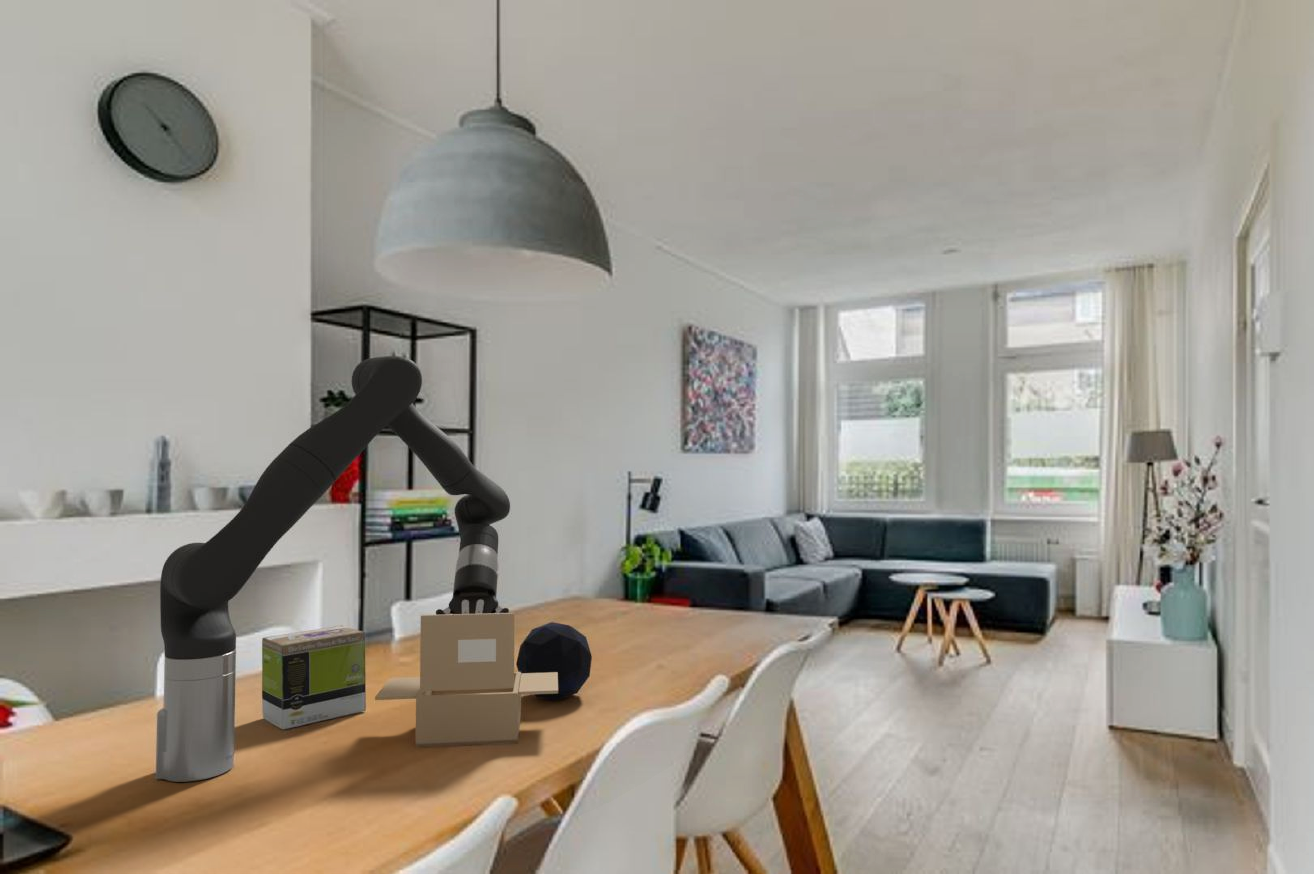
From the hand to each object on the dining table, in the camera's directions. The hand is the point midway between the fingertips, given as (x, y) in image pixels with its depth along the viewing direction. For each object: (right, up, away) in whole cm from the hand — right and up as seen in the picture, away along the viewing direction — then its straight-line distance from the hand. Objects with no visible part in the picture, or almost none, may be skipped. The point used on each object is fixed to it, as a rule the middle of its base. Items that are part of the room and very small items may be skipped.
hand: (469, 659), depth 134 cm
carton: (0, -13, +3) cm, 13 cm away
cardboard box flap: (0, -4, -3) cm, 5 cm away
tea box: (-31, -14, +12) cm, 36 cm away
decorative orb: (+11, -14, +24) cm, 30 cm away
